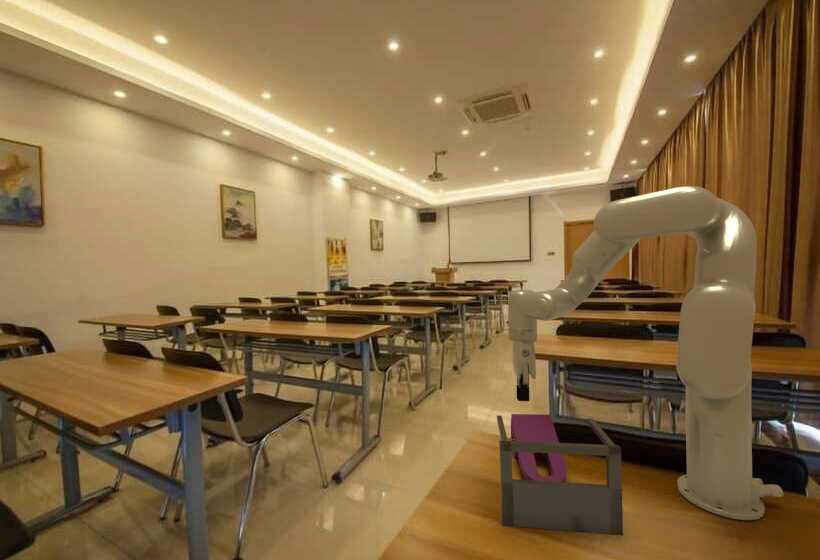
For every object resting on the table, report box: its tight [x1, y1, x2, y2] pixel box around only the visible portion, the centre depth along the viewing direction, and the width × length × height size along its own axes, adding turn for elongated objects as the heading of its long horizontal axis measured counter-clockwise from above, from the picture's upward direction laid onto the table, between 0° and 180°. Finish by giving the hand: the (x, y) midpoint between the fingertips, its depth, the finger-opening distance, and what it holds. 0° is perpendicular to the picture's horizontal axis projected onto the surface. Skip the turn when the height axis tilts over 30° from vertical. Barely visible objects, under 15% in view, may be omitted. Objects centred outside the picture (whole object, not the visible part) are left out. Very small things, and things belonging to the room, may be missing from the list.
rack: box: [496, 415, 624, 536], centre depth 66 cm, size 20×12×15 cm, turn 81°
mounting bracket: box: [510, 413, 568, 482], centre depth 81 cm, size 10×8×18 cm
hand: (522, 399), depth 96 cm, fingers closed
